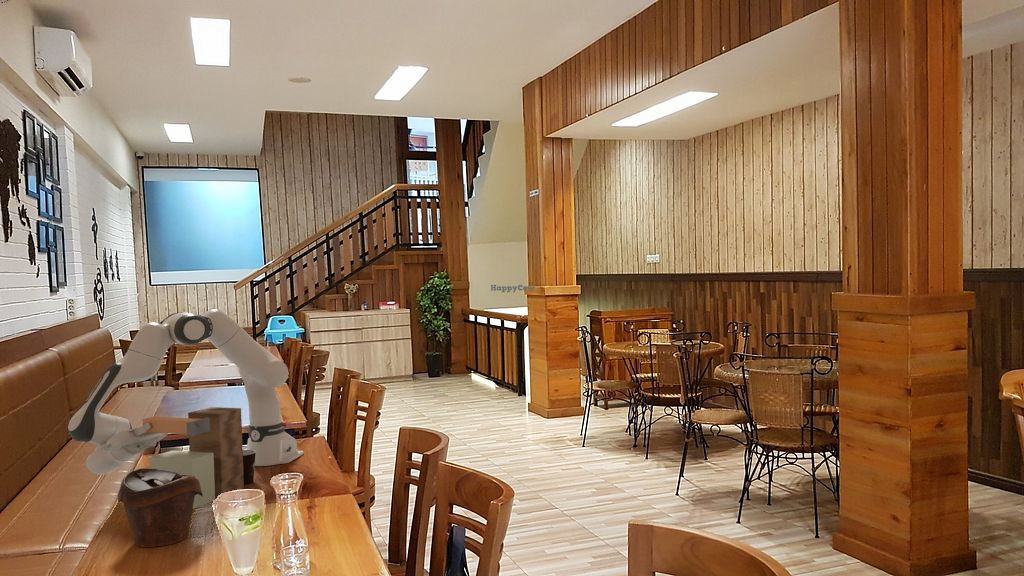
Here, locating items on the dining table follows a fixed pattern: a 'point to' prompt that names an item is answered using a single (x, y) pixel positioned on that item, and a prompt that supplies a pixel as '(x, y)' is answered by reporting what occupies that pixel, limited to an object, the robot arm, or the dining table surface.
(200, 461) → the grey green block
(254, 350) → the robot arm
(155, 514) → the brown round container
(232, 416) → the stand
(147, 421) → the orange brown flat block
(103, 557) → the dining table surface
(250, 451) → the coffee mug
